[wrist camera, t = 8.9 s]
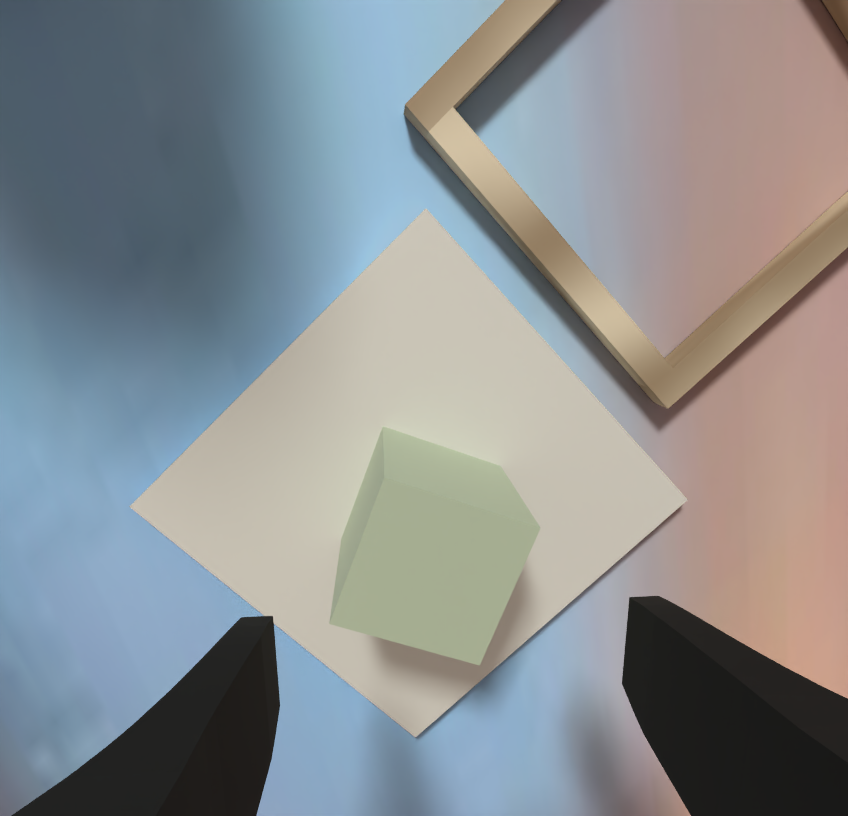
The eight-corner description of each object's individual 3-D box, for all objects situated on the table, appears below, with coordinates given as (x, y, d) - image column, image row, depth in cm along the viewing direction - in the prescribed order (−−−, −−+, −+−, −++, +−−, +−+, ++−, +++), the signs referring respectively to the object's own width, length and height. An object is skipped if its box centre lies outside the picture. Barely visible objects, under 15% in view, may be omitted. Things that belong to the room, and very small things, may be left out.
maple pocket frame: (946, 138, 19) (977, 131, 18) (654, 402, 20) (667, 408, 19) (726, -221, 16) (749, -253, 15) (403, 114, 17) (404, 104, 16)
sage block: (500, 465, 20) (540, 527, 15) (455, 573, 20) (479, 665, 16) (382, 426, 19) (384, 477, 14) (341, 539, 20) (329, 623, 15)
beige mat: (679, 493, 21) (687, 499, 21) (414, 725, 23) (415, 737, 22) (424, 210, 18) (425, 208, 17) (136, 499, 20) (129, 506, 19)
